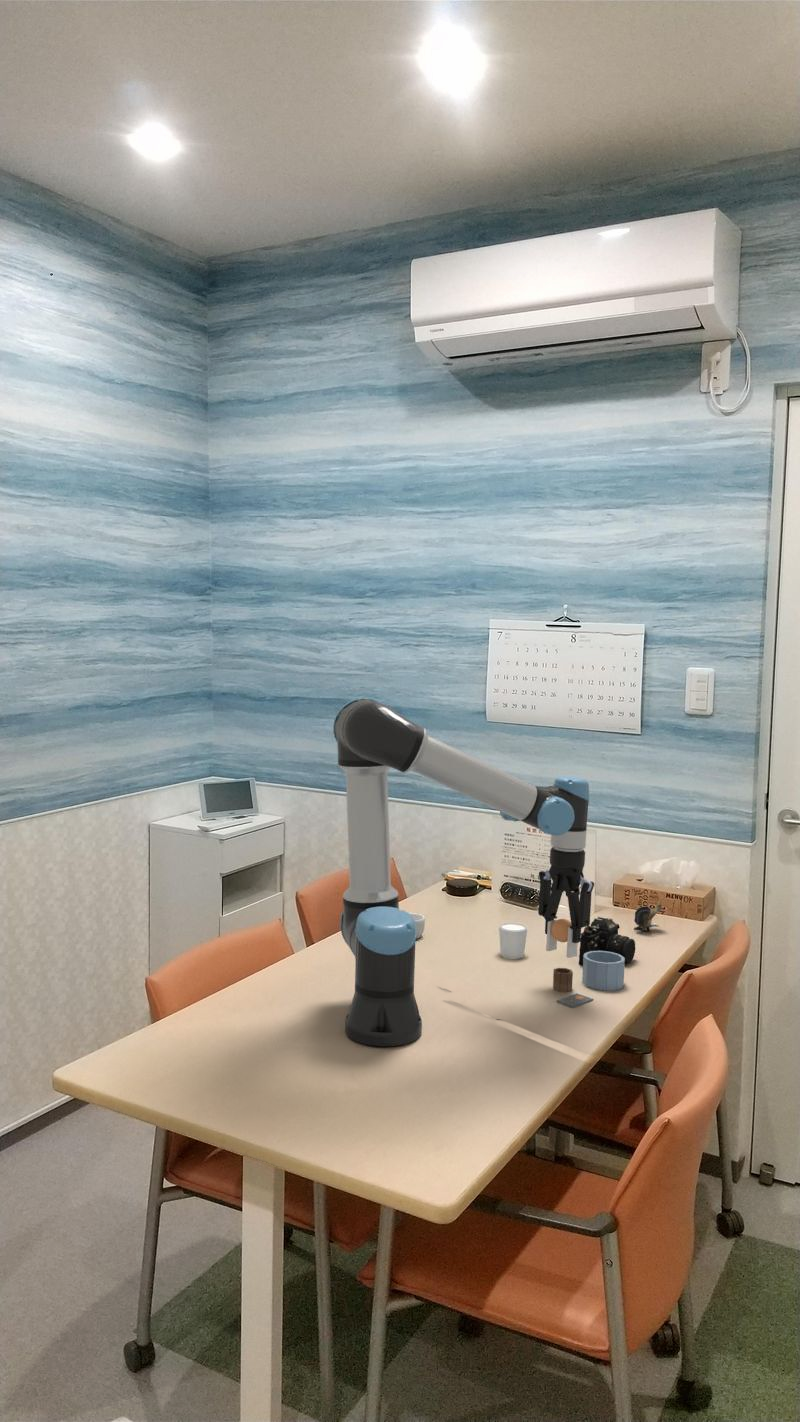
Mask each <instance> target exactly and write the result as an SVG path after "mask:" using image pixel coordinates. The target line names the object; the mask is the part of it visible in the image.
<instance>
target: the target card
mask: <svg viewBox="0 0 800 1422" xmlns="http://www.w3.org/2000/svg"><path fill="white" fill-rule="evenodd" d="M593 1001H594V998H593V997H589V996H586V995H583V994H581V993H577V992H576V993H574V994H571V995H567V996H565V997H562V998H560V999H557V1000H555V1002H556V1003H558V1004H560V1005H561V1004H562V1005H564V1006H567V1007H569V1008H571V1009H574V1008H577V1007H580V1006H582V1005H584V1004H587V1003H591V1002H593Z"/></svg>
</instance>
